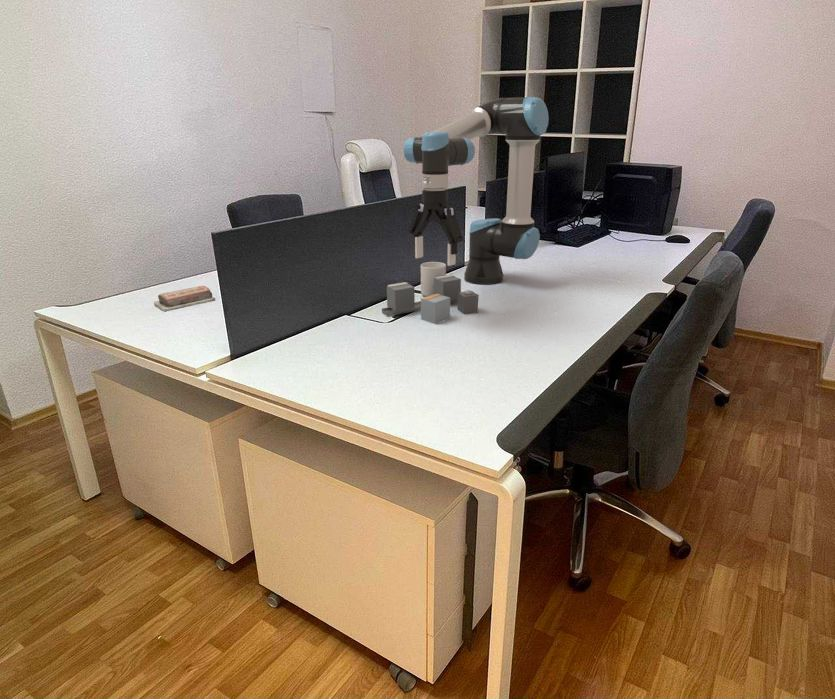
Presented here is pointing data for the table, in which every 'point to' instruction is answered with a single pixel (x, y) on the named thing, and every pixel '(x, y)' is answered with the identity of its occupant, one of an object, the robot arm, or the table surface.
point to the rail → (391, 312)
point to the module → (435, 308)
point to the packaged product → (184, 298)
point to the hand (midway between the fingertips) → (434, 261)
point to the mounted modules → (404, 297)
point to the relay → (467, 302)
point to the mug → (430, 276)
